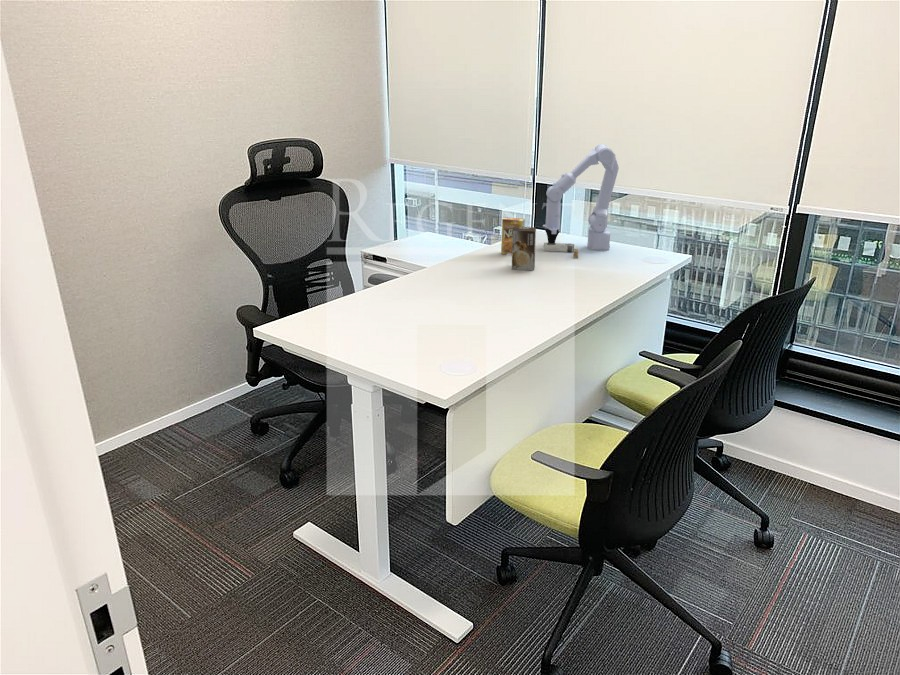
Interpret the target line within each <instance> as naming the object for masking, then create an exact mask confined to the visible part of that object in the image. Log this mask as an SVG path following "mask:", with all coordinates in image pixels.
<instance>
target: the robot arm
mask: <svg viewBox="0 0 900 675" xmlns="http://www.w3.org/2000/svg"><path fill="white" fill-rule="evenodd" d="M617 160H618V159H617V157H616V154H615V153H614V151H613V150H612V149H611V148H609V147H608V146H607V145H605V144H602V143H601V144H598V145H596V146H595V147H594V149H592V150H591V151H590V152H589V153H588V154H587V155H586V156H585V157H583V159H582V160H581V161H580V162H579V163H578V164H577V165H576V166H575V167H574V169H572V170H571V171H570V172H565V173H562V174H561V175H560V178H559V179H558V180H557V181H556V182H553V183H552V186H549V187H548V188H547V190H546V192H545V193H546V194H545V195H546V197H547V199H546V212H545V213H546V214H545V224H543V225H542V228H545V229H544V230H545V233H546V237H547V243H556V239H557V236H558V235H559V233H560V231H559V229H560V216H561V200H562V199H563V196H564V194H566V192H568V191H569V190H570V189H571V188H572V187H573V186H574V185H575V184H576V182H577V181H576V180H577V178H578V177H580V175H582V174H583V173H584V172H585V171H587V169H589V167H590V166H595V165H599V164H600V163H601V165H602V166H603V168H604V169H605V171H604V173H603V174H604V175H603V179H602V182H601V186H600V189H599V192H598V196H597V200H596V205H595V206H594V208H593V210H592V211H591V212H592V213H591V214H590V215H589V217H588V220H587V221H588V224H589V225H590V226H589V227H588V231H587V232H588V233H587V244H586V246H587V249H589V250H591V251H592V250H593V251H609V250H610V248H611V243H610V242H611V230H607V227H608V209H609V204H610V201H611V197H612V194H613V191H614V188H615V187H614V186H615V183H616V179H617V176H618V172H619V164H618V161H617Z"/></svg>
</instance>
